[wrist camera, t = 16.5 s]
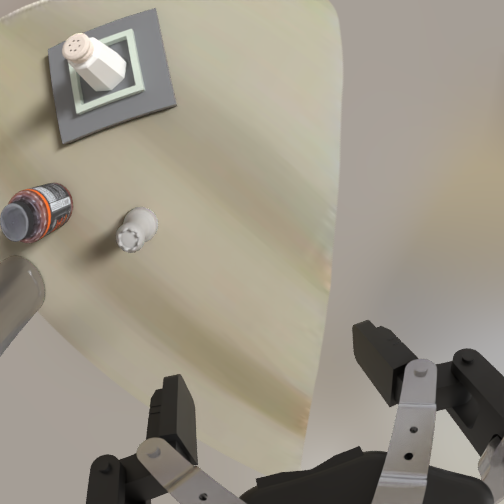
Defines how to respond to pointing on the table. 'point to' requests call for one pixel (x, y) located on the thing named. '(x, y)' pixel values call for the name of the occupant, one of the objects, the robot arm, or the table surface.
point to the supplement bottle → (36, 212)
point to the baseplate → (126, 92)
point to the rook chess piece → (136, 229)
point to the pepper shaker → (94, 62)
